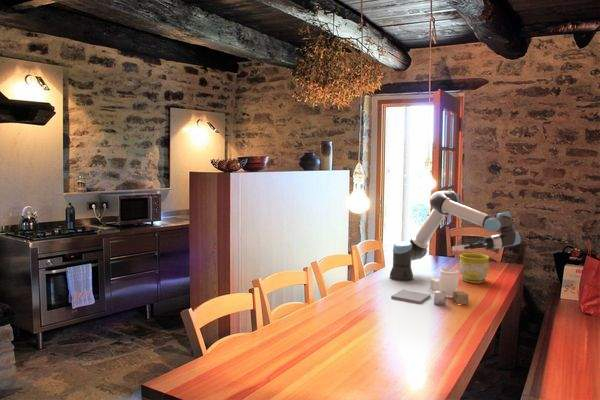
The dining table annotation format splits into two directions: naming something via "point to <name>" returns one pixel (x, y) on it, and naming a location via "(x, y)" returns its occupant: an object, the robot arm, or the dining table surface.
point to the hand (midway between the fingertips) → (455, 248)
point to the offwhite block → (435, 284)
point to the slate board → (411, 296)
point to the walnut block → (460, 297)
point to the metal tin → (440, 298)
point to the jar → (448, 281)
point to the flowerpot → (474, 267)
